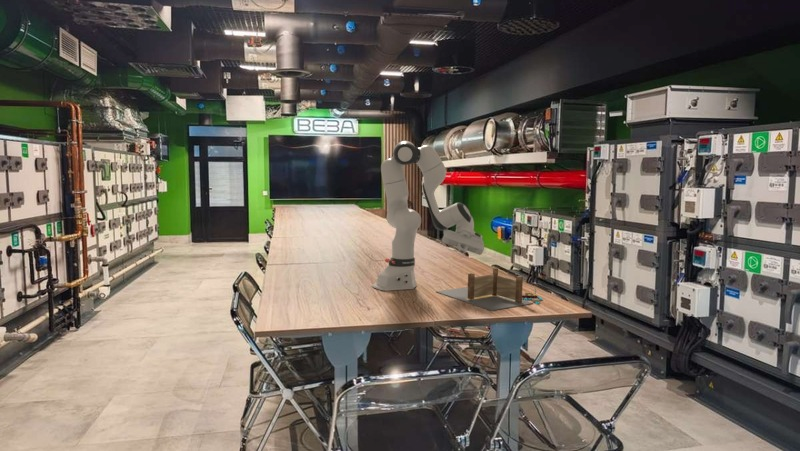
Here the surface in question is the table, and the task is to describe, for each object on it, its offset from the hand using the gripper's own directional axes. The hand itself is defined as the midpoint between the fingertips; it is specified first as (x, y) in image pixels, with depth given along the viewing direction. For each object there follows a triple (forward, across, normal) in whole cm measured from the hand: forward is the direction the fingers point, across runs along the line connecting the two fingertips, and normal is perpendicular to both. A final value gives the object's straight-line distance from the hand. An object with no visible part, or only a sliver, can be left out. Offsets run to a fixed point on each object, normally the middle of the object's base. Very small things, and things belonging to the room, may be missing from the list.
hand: (461, 251), depth 243 cm
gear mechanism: (+10, +36, +7) cm, 38 cm away
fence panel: (+15, +14, +10) cm, 23 cm away
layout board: (+13, +15, +12) cm, 23 cm away
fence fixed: (+14, +25, +8) cm, 29 cm away
